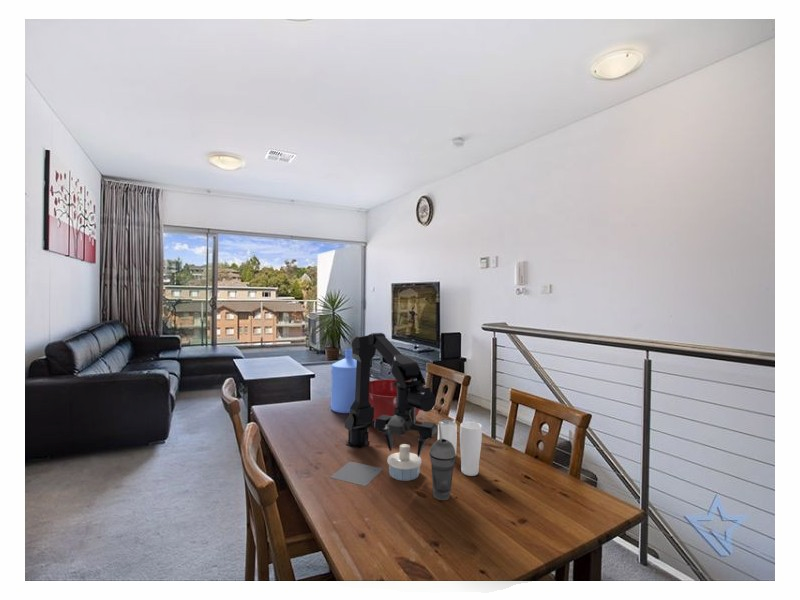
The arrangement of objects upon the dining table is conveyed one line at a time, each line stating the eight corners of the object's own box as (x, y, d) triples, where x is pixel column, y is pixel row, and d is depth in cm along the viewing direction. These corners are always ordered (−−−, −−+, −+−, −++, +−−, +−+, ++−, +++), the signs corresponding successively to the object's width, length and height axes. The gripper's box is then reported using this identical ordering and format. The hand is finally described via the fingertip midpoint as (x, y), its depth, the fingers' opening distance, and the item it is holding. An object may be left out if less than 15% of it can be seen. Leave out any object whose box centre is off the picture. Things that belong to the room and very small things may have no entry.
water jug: (354, 415, 173) (356, 353, 173) (324, 411, 179) (325, 350, 178) (369, 406, 188) (370, 348, 187) (340, 402, 193) (341, 346, 193)
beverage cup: (447, 506, 102) (450, 430, 102) (423, 497, 106) (425, 425, 106) (459, 494, 109) (461, 422, 108) (435, 486, 112) (437, 417, 112)
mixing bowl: (437, 420, 170) (438, 385, 170) (403, 440, 146) (404, 399, 146) (384, 408, 185) (385, 376, 185) (345, 425, 161) (346, 388, 161)
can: (455, 460, 130) (456, 425, 129) (436, 458, 131) (437, 423, 131) (456, 452, 136) (457, 418, 136) (438, 450, 137) (439, 417, 137)
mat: (329, 478, 116) (329, 477, 116) (350, 462, 127) (350, 461, 127) (365, 487, 111) (365, 486, 111) (383, 469, 122) (383, 468, 122)
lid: (381, 465, 116) (382, 449, 116) (395, 452, 126) (395, 437, 126) (414, 472, 112) (414, 455, 112) (425, 458, 122) (426, 443, 122)
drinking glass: (482, 469, 124) (483, 423, 123) (479, 479, 117) (480, 430, 117) (460, 466, 126) (462, 420, 125) (456, 475, 119) (458, 427, 119)
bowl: (384, 477, 117) (384, 464, 117) (396, 465, 125) (396, 453, 125) (412, 484, 113) (413, 470, 113) (423, 471, 122) (423, 458, 122)
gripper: (366, 405, 115) (365, 458, 115) (426, 415, 108) (424, 470, 108) (382, 396, 125) (381, 444, 126) (438, 404, 118) (436, 455, 118)
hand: (404, 453), depth 119 cm, fingers open, 9 cm apart
